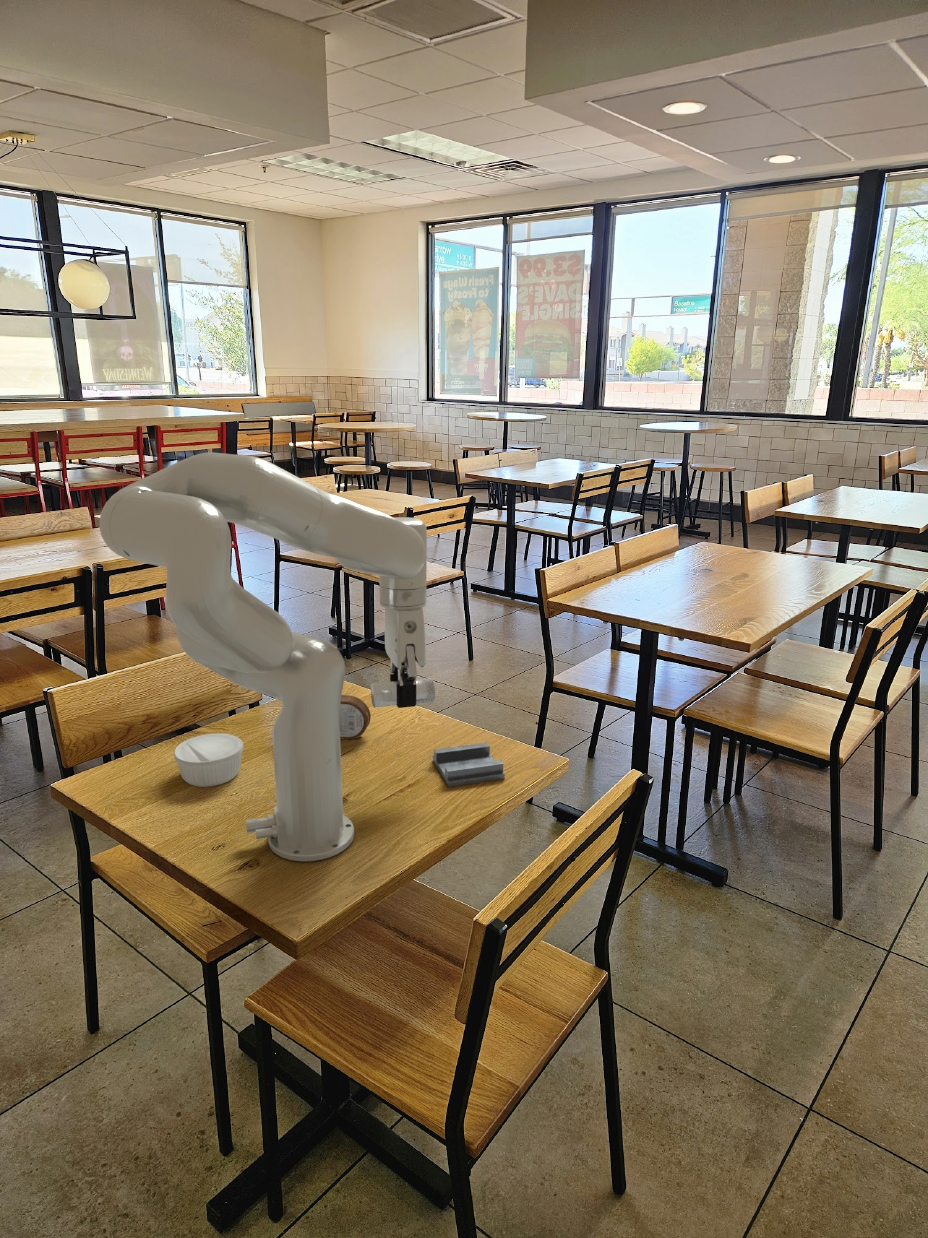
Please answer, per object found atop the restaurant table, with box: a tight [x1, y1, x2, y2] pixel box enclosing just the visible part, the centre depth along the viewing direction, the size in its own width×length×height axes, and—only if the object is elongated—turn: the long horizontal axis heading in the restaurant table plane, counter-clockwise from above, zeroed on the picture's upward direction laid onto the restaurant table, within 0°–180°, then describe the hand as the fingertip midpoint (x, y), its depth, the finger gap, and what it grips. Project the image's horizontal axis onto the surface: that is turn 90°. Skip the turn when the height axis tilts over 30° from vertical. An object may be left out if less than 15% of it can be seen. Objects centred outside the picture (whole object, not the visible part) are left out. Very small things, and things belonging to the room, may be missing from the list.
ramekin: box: [173, 732, 244, 788], centre depth 139 cm, size 11×11×5 cm
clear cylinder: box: [370, 677, 436, 708], centre depth 134 cm, size 10×4×4 cm, turn 108°
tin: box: [340, 694, 372, 740], centre depth 153 cm, size 15×3×8 cm, turn 84°
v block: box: [432, 742, 506, 788], centre depth 141 cm, size 10×10×2 cm
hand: (403, 700), depth 135 cm, fingers closed on clear cylinder, 4 cm apart
